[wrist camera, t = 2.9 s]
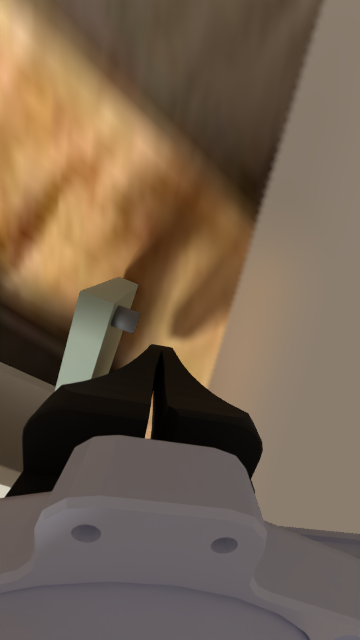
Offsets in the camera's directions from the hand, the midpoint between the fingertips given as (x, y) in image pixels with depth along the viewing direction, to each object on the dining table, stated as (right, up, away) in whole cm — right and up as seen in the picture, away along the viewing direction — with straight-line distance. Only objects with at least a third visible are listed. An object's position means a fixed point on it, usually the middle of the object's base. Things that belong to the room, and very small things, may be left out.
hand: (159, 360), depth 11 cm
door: (-3, 0, +1) cm, 3 cm away
